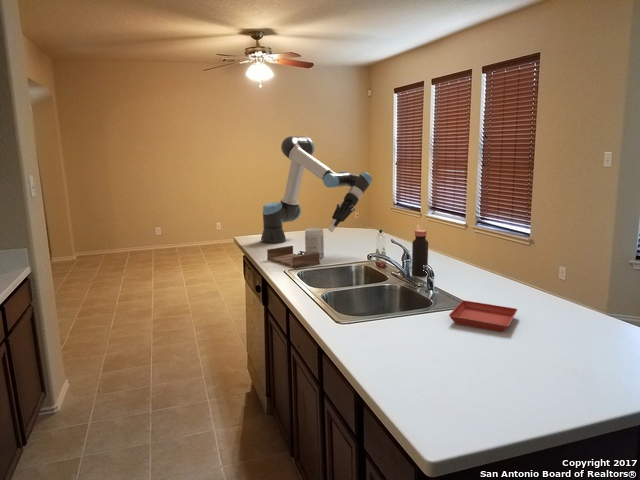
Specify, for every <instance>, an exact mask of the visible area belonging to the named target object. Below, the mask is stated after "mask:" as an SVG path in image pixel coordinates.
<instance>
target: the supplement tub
mask: <svg viewBox="0 0 640 480" xmlns="http://www.w3.org/2000/svg"><path fill="white" fill-rule="evenodd" d="M304 239H305V240H304V241H305V244H304V245H305V248H304V249H305V255H306V254H311V253H317V252H318V253H319V257H320V259H322V258H324V256H325V247H324V245H325V244H324V239H325V238H324V229H323V228H319V227H318V228H317V227H313V228H307V229H305V231H304Z"/></svg>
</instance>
